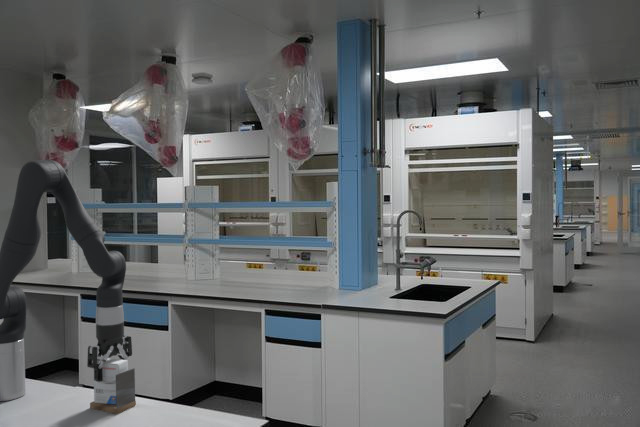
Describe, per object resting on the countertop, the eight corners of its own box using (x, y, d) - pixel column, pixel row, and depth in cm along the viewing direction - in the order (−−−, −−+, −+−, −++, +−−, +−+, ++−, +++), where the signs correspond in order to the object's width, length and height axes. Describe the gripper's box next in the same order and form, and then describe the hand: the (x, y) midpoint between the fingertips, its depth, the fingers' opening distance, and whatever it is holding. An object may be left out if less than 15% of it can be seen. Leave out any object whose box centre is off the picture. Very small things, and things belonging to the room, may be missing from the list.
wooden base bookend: (90, 408, 159) (89, 370, 159) (109, 399, 166) (108, 363, 165) (117, 414, 154) (116, 375, 154) (135, 405, 161) (135, 367, 160)
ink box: (129, 399, 162) (128, 359, 161) (119, 405, 157) (118, 364, 157) (104, 396, 164) (103, 357, 163) (93, 403, 159) (92, 362, 159)
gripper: (99, 327, 152) (100, 386, 152) (138, 317, 164) (138, 371, 165) (80, 325, 155) (81, 382, 156) (119, 314, 168) (120, 367, 168)
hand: (110, 376), depth 160 cm, fingers open, 8 cm apart
